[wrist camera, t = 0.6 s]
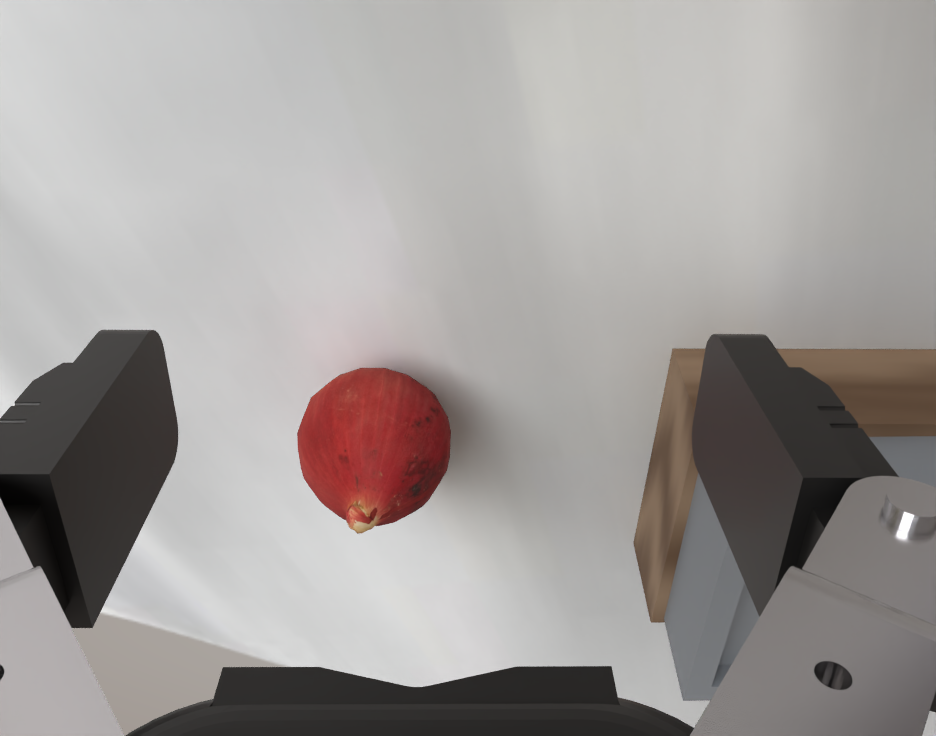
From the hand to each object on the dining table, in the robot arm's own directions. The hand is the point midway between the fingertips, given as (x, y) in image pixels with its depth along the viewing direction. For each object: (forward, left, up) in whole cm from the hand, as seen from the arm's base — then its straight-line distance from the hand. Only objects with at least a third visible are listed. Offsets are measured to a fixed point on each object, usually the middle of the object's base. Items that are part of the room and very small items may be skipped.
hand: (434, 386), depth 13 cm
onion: (+14, -3, -18) cm, 23 cm away
